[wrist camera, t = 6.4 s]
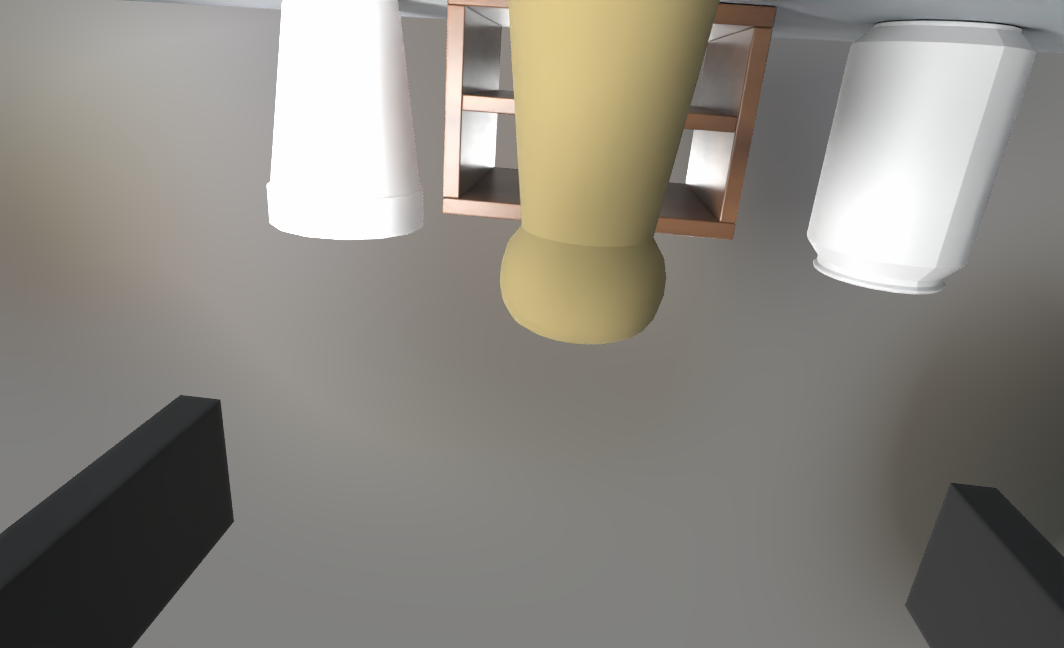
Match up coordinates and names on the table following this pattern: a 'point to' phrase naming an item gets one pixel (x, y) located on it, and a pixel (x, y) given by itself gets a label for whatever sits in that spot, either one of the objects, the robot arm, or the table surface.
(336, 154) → the foam cup
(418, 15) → the table surface
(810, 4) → the table surface
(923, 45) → the can
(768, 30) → the brown square box
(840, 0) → the table surface
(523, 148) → the tan knobbed peg
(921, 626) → the robot arm
